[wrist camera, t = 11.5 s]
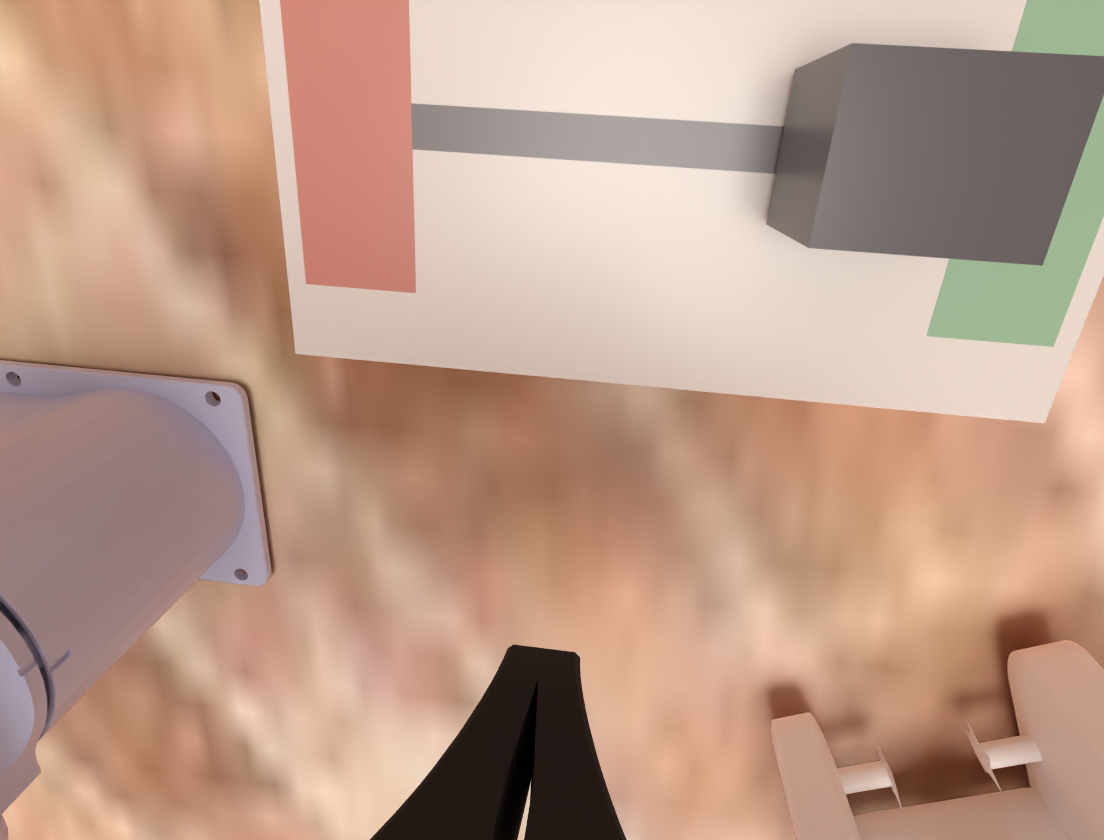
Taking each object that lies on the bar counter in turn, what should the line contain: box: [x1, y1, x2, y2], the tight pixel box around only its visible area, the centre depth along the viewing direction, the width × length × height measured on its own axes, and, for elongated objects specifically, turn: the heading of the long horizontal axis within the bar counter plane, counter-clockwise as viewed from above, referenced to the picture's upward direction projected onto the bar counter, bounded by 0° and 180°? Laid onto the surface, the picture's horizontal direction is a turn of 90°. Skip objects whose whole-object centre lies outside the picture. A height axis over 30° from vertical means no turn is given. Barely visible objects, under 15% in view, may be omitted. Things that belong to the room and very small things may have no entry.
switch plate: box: [259, 0, 1104, 423], centre depth 16 cm, size 20×12×2 cm, turn 87°
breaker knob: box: [766, 43, 1104, 266], centre depth 12 cm, size 4×3×4 cm
